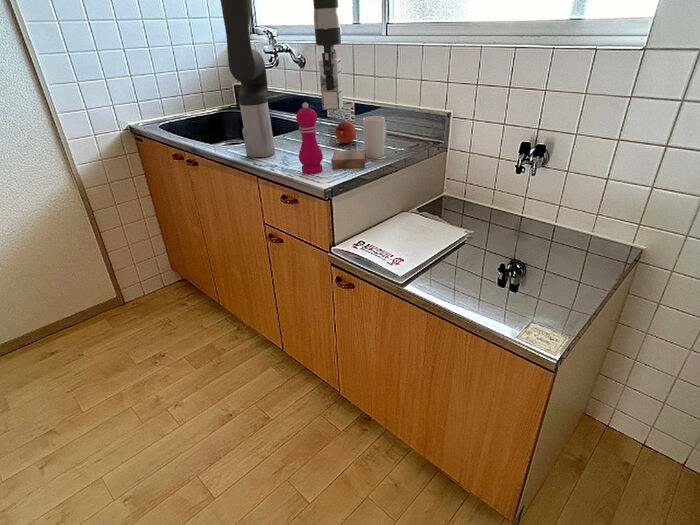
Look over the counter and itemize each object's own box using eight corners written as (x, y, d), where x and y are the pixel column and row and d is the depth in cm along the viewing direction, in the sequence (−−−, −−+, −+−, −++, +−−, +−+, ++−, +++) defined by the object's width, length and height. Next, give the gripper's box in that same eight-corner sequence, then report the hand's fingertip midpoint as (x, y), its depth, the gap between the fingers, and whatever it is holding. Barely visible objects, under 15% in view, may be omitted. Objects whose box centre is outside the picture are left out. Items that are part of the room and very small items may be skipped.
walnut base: (332, 169, 130) (331, 159, 129) (335, 160, 139) (334, 150, 137) (364, 168, 129) (364, 158, 128) (365, 158, 138) (365, 149, 136)
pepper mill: (324, 167, 133) (318, 99, 123) (323, 174, 127) (317, 103, 117) (301, 168, 133) (293, 101, 123) (299, 176, 127) (291, 105, 117)
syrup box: (343, 106, 138) (340, 57, 130) (339, 110, 133) (336, 58, 125) (326, 106, 139) (322, 57, 131) (322, 110, 134) (318, 59, 126)
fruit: (331, 143, 158) (329, 121, 154) (348, 139, 162) (347, 117, 158) (343, 147, 152) (342, 124, 148) (361, 142, 156) (360, 120, 152)
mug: (376, 160, 136) (375, 121, 130) (360, 157, 140) (358, 119, 134) (394, 152, 143) (394, 115, 137) (378, 149, 147) (377, 113, 141)
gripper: (317, 26, 131) (322, 85, 139) (311, 28, 118) (316, 92, 127) (342, 25, 130) (345, 84, 138) (337, 26, 118) (341, 91, 126)
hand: (331, 87), depth 133 cm, fingers closed on syrup box, 6 cm apart
